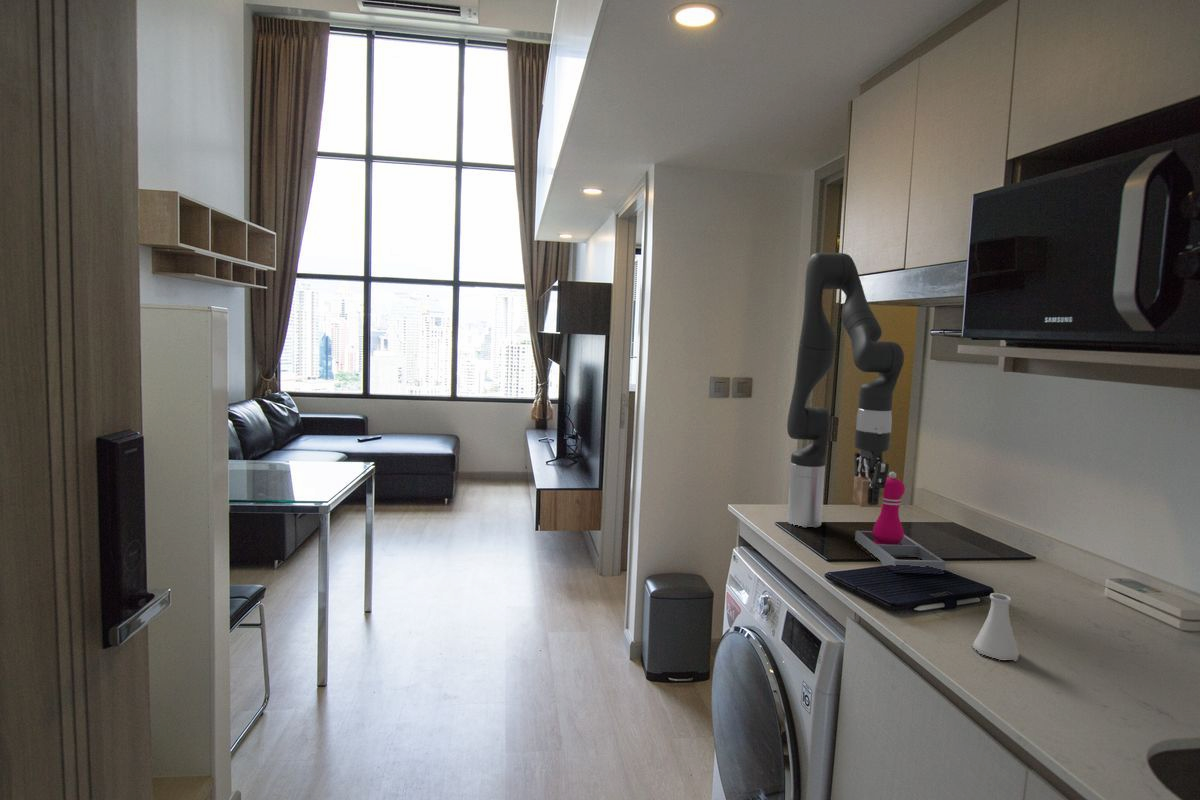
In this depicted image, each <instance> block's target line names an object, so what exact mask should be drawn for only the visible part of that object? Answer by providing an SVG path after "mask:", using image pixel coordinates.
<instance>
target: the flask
mask: <svg viewBox="0 0 1200 800" xmlns="http://www.w3.org/2000/svg"><path fill="white" fill-rule="evenodd" d="M989 599H990V601H991V602H990V608H989V612H988V614H987V617H986V619H985V621H984V623H983V625H982V627H981V629H980V631H979V632H978V634H977V636H976V638H975V640H974V642H973V643H972V645H971V647H972V646H973V648H975V649H974V651H976V650H977V651H978V652H979V653H980V654H983V655H986V656H989V657H993V658H998V659H1007V660H1017V659H1018V660H1019V658H1018V656H1019V657H1020V652H1019V651H1020V650H1019V648H1018V645H1017V641H1016V638H1015V635H1014V632H1013V629H1012V625H1011V624H1012V623H1011V622H1010V621H1011V620H1010V613H1009V607H1010V603H1011V602H1012V597H1010V596H1008V595H1007V594H1004V593H1003V594H1002V593H996V592H995V593H994V592H992V593H990V594H989ZM973 648H972V649H973ZM977 651H976V652H977ZM978 652H977V653H978ZM979 653H978V654H979ZM980 654H979V655H980ZM983 655H982V656H983ZM986 656H985V657H986ZM989 657H988V658H989ZM993 658H992V659H993ZM1018 660H1017V661H1018Z"/></svg>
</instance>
